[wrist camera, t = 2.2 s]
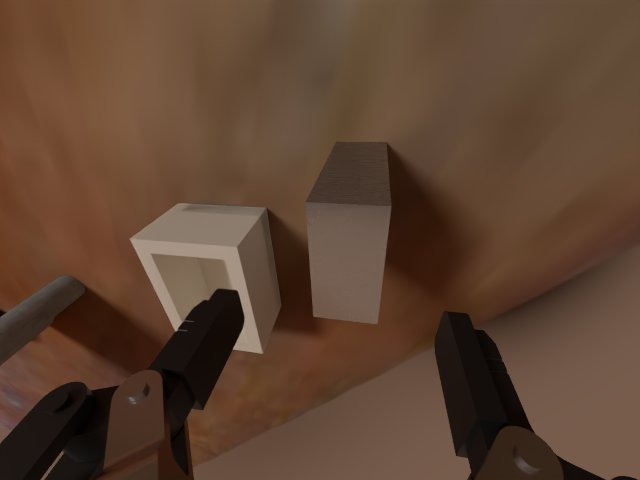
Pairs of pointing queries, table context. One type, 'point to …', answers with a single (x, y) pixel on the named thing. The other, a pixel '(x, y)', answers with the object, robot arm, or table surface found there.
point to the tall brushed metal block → (349, 232)
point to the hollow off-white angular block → (213, 264)
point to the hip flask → (36, 314)
